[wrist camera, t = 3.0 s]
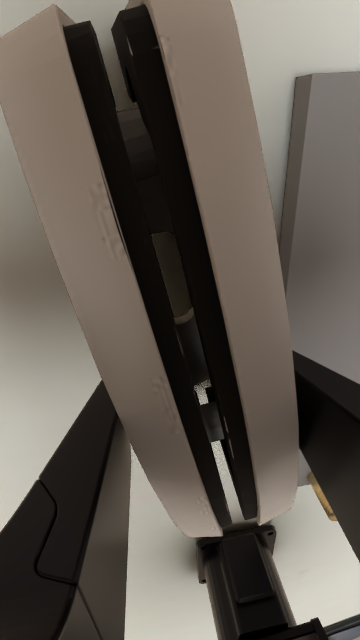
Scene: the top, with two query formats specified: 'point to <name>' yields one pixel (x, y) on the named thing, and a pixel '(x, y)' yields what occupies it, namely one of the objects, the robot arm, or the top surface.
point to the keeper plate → (323, 230)
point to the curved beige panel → (191, 235)
